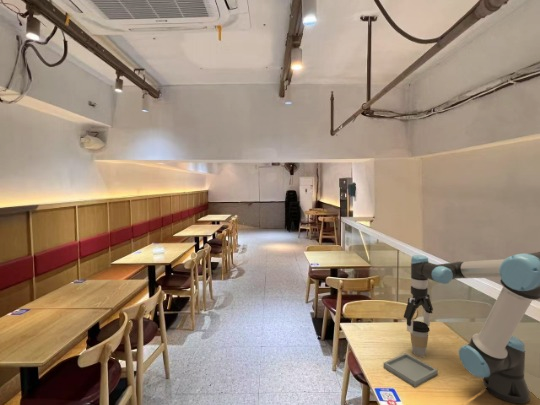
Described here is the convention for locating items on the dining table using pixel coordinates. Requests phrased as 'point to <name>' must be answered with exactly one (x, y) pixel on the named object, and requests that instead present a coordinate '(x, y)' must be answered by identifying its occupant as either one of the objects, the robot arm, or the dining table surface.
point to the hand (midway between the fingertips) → (418, 328)
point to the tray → (410, 369)
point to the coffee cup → (419, 338)
